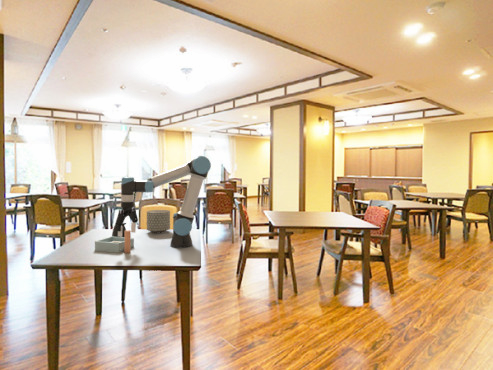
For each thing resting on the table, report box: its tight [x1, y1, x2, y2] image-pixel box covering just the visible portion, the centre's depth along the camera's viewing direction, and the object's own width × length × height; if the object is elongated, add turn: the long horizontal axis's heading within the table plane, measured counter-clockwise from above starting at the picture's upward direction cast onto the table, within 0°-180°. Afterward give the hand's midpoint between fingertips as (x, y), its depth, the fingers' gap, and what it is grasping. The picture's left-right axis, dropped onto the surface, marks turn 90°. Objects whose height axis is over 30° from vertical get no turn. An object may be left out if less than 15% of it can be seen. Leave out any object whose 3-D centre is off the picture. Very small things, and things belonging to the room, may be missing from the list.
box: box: [94, 235, 135, 254], centre depth 204 cm, size 18×16×6 cm
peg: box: [124, 229, 132, 254], centre depth 195 cm, size 4×4×14 cm
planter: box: [146, 209, 171, 234], centre depth 258 cm, size 19×19×18 cm
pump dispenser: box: [111, 222, 127, 237], centre depth 223 cm, size 10×10×15 cm
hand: (126, 234), depth 195 cm, fingers open, 13 cm apart
